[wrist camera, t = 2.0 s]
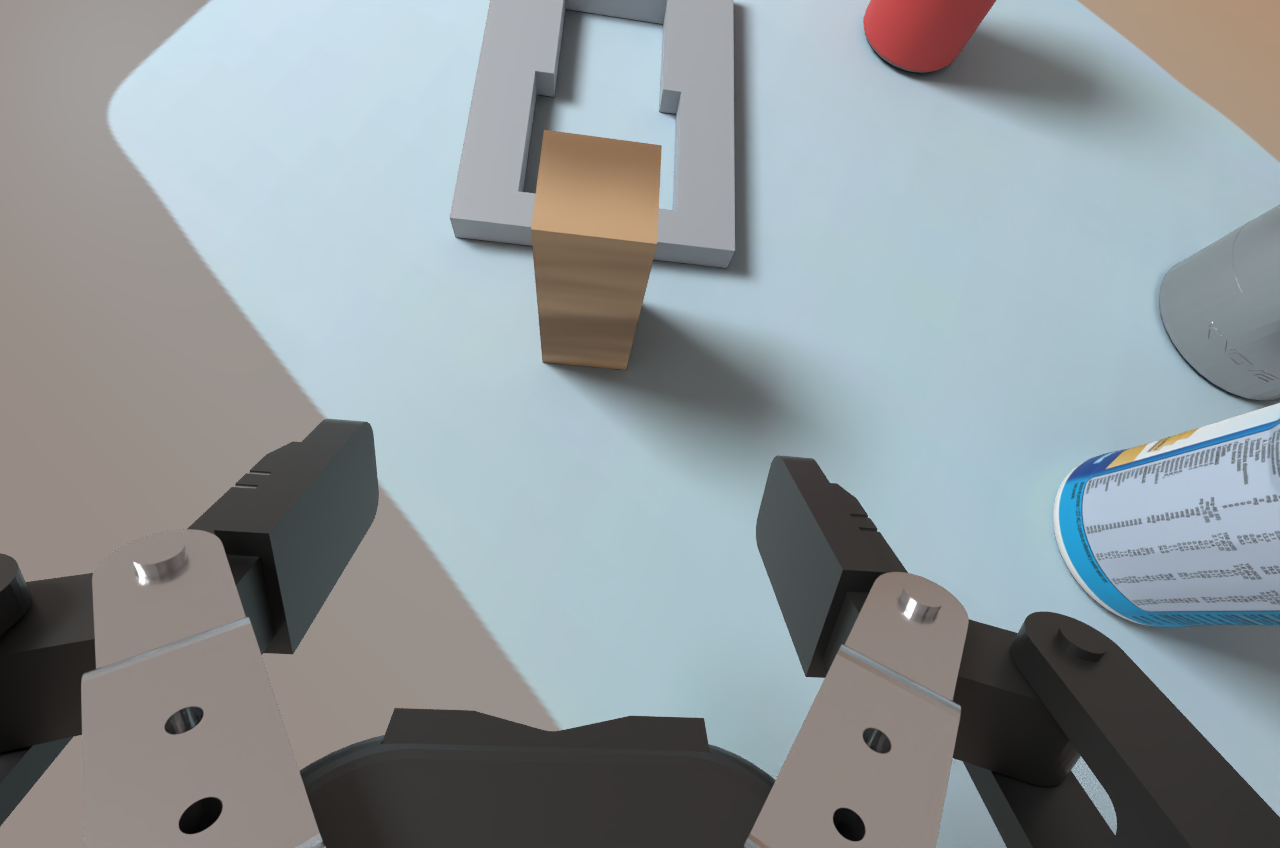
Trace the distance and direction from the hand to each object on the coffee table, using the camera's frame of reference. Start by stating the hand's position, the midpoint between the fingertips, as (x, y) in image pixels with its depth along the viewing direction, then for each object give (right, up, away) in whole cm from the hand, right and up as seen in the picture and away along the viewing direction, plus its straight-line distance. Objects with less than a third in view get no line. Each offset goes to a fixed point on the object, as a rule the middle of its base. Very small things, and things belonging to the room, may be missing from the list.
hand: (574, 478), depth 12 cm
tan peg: (-1, +6, +17) cm, 18 cm away
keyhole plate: (-1, +19, +21) cm, 29 cm away
